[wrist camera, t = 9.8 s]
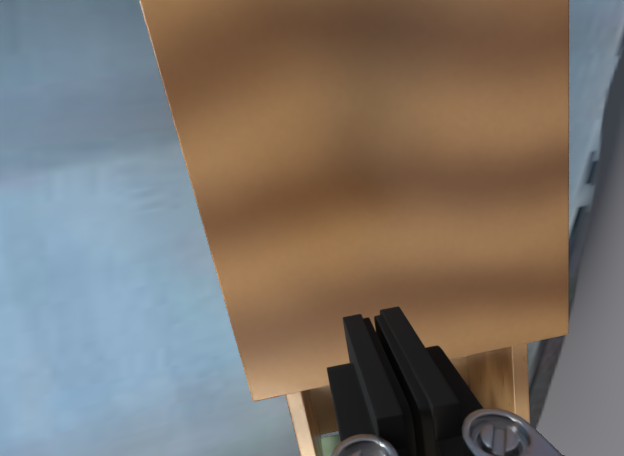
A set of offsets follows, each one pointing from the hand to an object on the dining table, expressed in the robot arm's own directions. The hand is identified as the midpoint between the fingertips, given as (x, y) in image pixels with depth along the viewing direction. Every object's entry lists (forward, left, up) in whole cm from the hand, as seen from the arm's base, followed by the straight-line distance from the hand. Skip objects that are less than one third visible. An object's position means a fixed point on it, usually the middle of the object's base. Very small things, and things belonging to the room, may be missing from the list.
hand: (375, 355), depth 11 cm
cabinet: (-4, +2, -14) cm, 14 cm away
